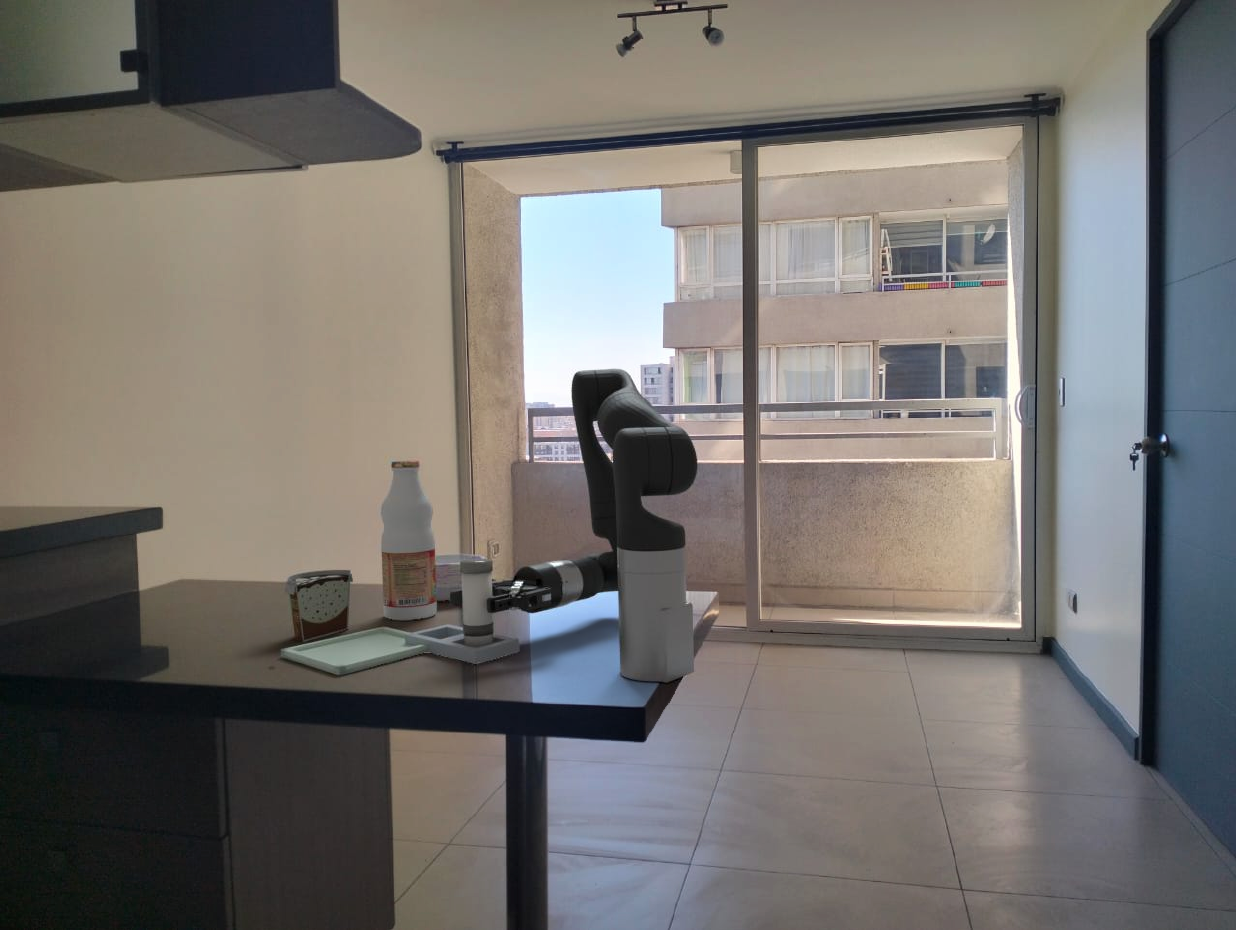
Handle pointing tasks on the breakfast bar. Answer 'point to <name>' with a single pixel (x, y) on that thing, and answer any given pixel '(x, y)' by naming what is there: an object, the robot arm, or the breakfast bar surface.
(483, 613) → the grey-capped white cylinder
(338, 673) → the tray
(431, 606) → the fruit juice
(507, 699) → the breakfast bar surface
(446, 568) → the paper bowls
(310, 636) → the food container
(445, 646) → the fuse block
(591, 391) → the robot arm
